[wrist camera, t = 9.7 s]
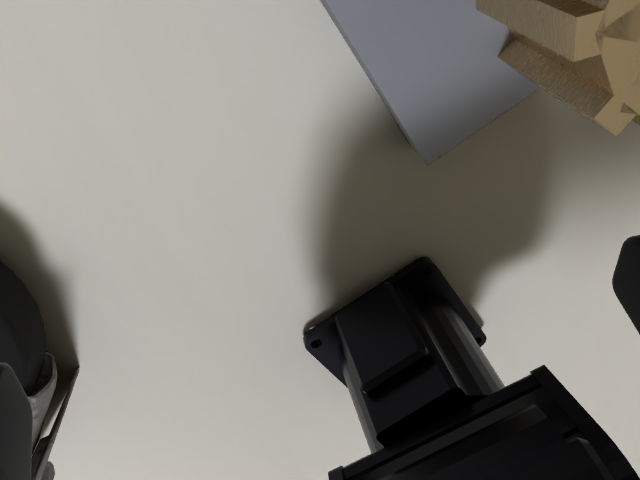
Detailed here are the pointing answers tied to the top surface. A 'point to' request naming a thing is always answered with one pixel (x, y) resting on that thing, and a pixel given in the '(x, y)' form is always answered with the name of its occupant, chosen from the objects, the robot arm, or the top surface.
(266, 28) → the top surface
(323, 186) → the top surface
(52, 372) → the caster wheel
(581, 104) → the seated gear
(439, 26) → the plate
